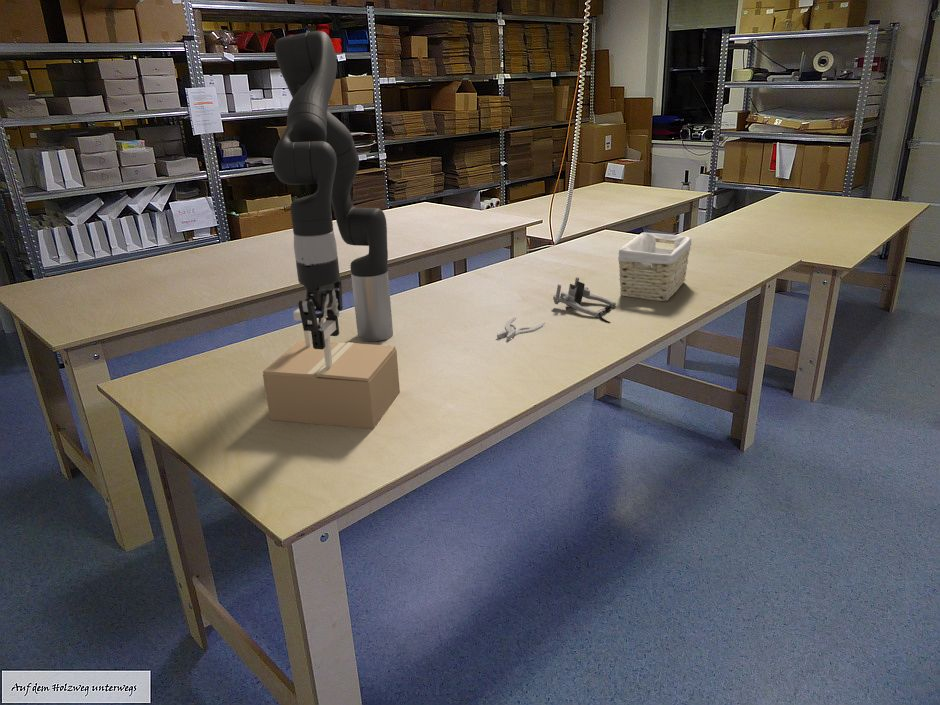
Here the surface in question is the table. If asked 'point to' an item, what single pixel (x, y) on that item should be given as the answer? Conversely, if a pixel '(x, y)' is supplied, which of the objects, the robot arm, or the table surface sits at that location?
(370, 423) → the carton
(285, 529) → the table surface
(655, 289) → the storage basket
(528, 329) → the pliers
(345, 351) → the right flap
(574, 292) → the bike brake
